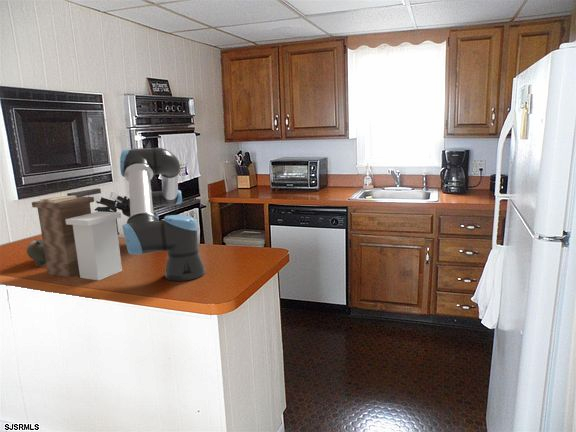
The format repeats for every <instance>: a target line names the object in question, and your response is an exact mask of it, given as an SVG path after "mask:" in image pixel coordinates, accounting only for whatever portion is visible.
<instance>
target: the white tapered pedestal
mask: <svg viewBox="0 0 576 432" xmlns="http://www.w3.org/2000/svg"><path fill="white" fill-rule="evenodd" d="M121 218H122V212H118V211H117V212H101V211H99V212H98V211H94V212H91V213H90V214H86V215H81V216H77V217H73V218H69V219H65V220H66V224H68V225H73V231H74V238H75V245H76V252H77V258H78V265H79V272H80V274H79V277H80V279H86V280H92V281H100V280H101V281H102V280H103V279H106V278H108V277H110V276H113V275H115V274H118V273H120V272H123V267H122V266H123V265H122V257H121V249H120V242H119V235H118V233H117V225H118V224H117V225H116V219H117V220H118V219H121Z"/></svg>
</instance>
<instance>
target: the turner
mask: <svg viewBox="0 0 576 432" xmlns="http://www.w3.org/2000/svg"><path fill="white" fill-rule="evenodd" d="M93 194H97V195H100V194H102V190H101V188H97V187H96V188H91V189H86V190H80V191H74V192H73V191H72V192H70V193H69V192H68V193H67V194H65V195H63V194H62V195H57V196H51V197H45V198H41V199H40V200H39V201H41V202H47V203H56V202H62V201H67V200H72V199H77V197H88V195H93Z"/></svg>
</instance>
